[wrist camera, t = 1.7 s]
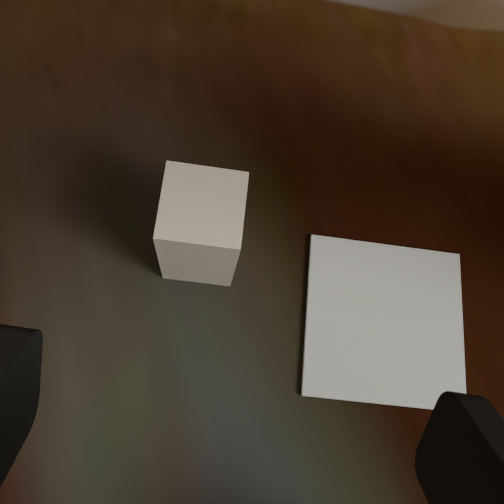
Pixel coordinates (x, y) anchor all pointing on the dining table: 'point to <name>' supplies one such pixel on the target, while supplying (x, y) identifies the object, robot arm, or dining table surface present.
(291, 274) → the dining table surface
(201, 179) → the beige block
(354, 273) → the mat
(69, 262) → the dining table surface
